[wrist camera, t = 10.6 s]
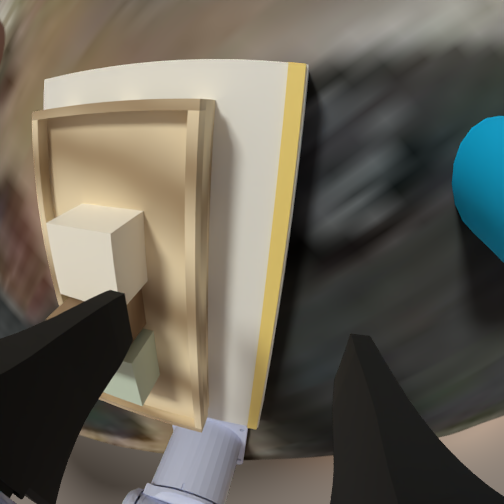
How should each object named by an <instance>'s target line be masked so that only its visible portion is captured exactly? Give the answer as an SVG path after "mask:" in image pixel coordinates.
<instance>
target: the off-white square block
mask: <svg viewBox="0 0 504 504" xmlns="http://www.w3.org/2000/svg"><path fill="white" fill-rule="evenodd" d="M46 225H47V231H48V237H49V243H50V248H51V254H52V259H53V264H54V268H55V273H56V277H57V282H58V286H59V290H60V294H63V295H66V296H69V297H72V298H75V299H79V300H82V301H86V300H88V299H90V298H92V297H95V296H97V295H99V294H101V293H103V292H106V291H108V290H113V291H117V292H121V293H125V298H126V304H128V303H129V302H130V301H131V300H132V298H133V297H134V296H135V295H136V294H137V293H138V291H139V290H140V289H141V288H142V287H143V286H144V285H145V283H146V282H147V281H148V278H147V266H146V252H145V235H144V212H143V211H140V210H132V209H124V208H116V207H108V206H100V205H91V204H80V205H78V206H76V207H74V208H73V209H71V210H69V211H67V212H65V213H63V214H61V215H60V216H58V217H56V218H54V219H52V220H51V221H49V222H47V223H46Z"/></svg>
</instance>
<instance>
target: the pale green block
mask: <svg viewBox="0 0 504 504" xmlns="http://www.w3.org/2000/svg"><path fill="white" fill-rule="evenodd" d="M159 375H160V372H159V366H158V359H157V353H156V346H155V339H154V331H151V330H147V329H144V328H143V329H142V330H141V332H140V333H139V334H138V336H137V337H136V339H135V340H134V341H133V343H132V344H131V346H130V348H129V350H128V352H127V354H126V356H125V358H124V360H123V362H122V364H121V366H120V367H119V369H118V370H117V372H116V373H115V375H114V376H113V378H112V379H111V381H110V382H109V384H108V385H107V387H106V388H105V390H104V391H103V392H104V393H107V394H110V395H112V396H115V397H118V398H120V399H123V400H126V401H129V402H131V403H134V404H137V405H140V406H143V405H144V403H145V401H146V399H147V397H148V395H149V394H150V392H151V390H152V388H153V386H154V385H155V383H156V381H157V379H158V377H159Z"/></svg>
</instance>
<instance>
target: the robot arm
mask: <svg viewBox="0 0 504 504" xmlns="http://www.w3.org/2000/svg"><path fill="white" fill-rule="evenodd" d="M132 341H133V337H132V332H131V327H130V321H129V316H128V310H127V304H126V298H125V293H121V292H117V291H113V290H108V291H106V292H103V293H101V294H99V295H97V296H95V297H92V298H90V299H88V300H86V301H84V302H82V303H80V304H78V305H76V306H74V307H72V308H70V309H68V310H66V311H64V312H63V313H61V314H59V315H57V316H54V317H52V318H50V319H48V320H46V321H44V322H41V323H39V324H37V325H35V326H33V327H31V328H28V329H26V330H23V331H21V332H18V333H16V334H13V335H10V336H7V337H4V338H1V339H0V504H16V503H15V502H14V501H12V500H11V499H10V497H11V495H12V493H13V494H14V495H16V496H17V497H18V498H20V499H23V498H24V496H26V497H28V498H29V499H31V500H32V501H33V502H35V503H37V504H56V500H57V496H58V491H59V488H60V484H61V480H62V477H63V474H64V471H65V468H66V465H67V462H68V459H69V457H70V454H71V452H72V449H73V447H74V444H75V442H76V439H77V437H78V435H79V433H80V431H81V429H82V426H83V424H84V422H85V420H86V418H87V417H88V415H89V413H90V411H91V410H92V408H93V407H94V405H95V404H96V402H97V401H98V399H99V398H100V396H101V394H102V393H103V391H104V390H105V388H106V387H107V385H108V384H109V382H110V381H111V379H112V378H113V376H114V375H115V373H116V372H117V370H118V369H119V367H120V366H121V364H122V362H123V360H124V358H125V356H126V354H127V352H128V350H129V348H130V346H131V344H132ZM332 416H333V452H334V474H333V476H334V477H333V487H332V494H331V502H330V504H504V496H502V495H501V494H499V493H498V492H496V491H495V490H494V489H492V488H491V487H489V486H488V485H487V484H485V483H484V482H483V481H482V480H481V479H479V478H478V477H477V476H476V475H475V474H473V473H472V472H471V471H470V470H469V469H468V468H467V467H466V466H464V464H462V463H461V462H460V461H459V460H458V459H457V458H456V456H455V455H453V454H452V453H451V451H450V450H449V449H448V448H447V447H446V446H445V445H444V444H443V443H442V442H441V441H440V440H439V438H438V437H437V436H436V435H435V434H434V432H433V431H432V430H431V429H430V428H429V426H428V425H427V424H426V423H425V421H424V420H423V419H422V417H421V416H420V415H419V413H418V412H417V411H416V409H415V408H414V406H413V405H412V404H411V402H410V401H409V399H408V398H407V396H406V395H405V393H404V392H403V390H402V388H401V387H400V385H399V384H398V382H397V381H396V379H395V377H394V376H393V374H392V372H391V371H390V369H389V367H388V366H387V364H386V362H385V361H384V359H383V357H382V356H381V354H380V352H379V350H378V349H377V347H376V345H375V344H374V342H373V340H372V339H371V337H370V336H365V335H357V334H350V337H349V340H348V343H347V346H346V349H345V352H344V355H343V357H342V360H341V363H340V366H339V369H338V371H337V374H336V377H335V379H334V392H333V405H332ZM172 426H173V434H172V436H171V438H170V441H169V443H168V445H167V447H166V450H165V452H164V454H163V457H162V459H161V461H160V464H159V466H158V468H157V471H156V473H155V475H154V478H153V480H152V482H151V484H149V483H147V484H146V487H145V489H144V490H143V489H141V488H137V489H135V490H132V491H130V492H129V493H128V494H127V496H126V497H125V499H124V501H123V502H122V504H226V500H227V497H228V493H229V490H230V486H231V482H232V479H233V475H234V471H235V467H236V464H238V465H241V464H243V459H244V453H245V446H246V439H247V432H248V428H247V426H245V425H240V424H235V423H230V422H226V421H221V420H217V419H212V418H208V417H207V420H206V423H205V425H204V428H203V431H202V433H201V432H197V431H193V430H190V429H186V428H182V427H179V426H175V425H172Z"/></svg>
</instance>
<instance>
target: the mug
mask: <svg viewBox="0 0 504 504" xmlns="http://www.w3.org/2000/svg"><path fill="white" fill-rule="evenodd" d="M452 188H453V194H454V201H455V205H456V207H457V210H458V212H459V214H460V216H461V219H462V221H463V222H464V223H465V224H466V225H467V226H468V228H469V229H470V230H471V231H472V232H473V233H474V234H475V235H476V236H477V237H478V238H479V239H480V240H481V241H482V242H483V243H484V244H485V245H486V246H487V247H489V248H490V249H491V250H492V251H493V252H494V253H495V254H496V255H497V256H498V257H499V259H500V260H501V261H502V262H503V263H504V116H497V117H491V118H486V119H484V120H483V121H481V122H480V123H478V124H477V125H475V126H474V127H472V128H471V130H470V131H469V132H468V134H467V135H466V137H465V138H464V139H463V141H462V142H461V144H460V147H459V149H458V152H457V155H456V158H455V161H454V166H453V178H452Z"/></svg>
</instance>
